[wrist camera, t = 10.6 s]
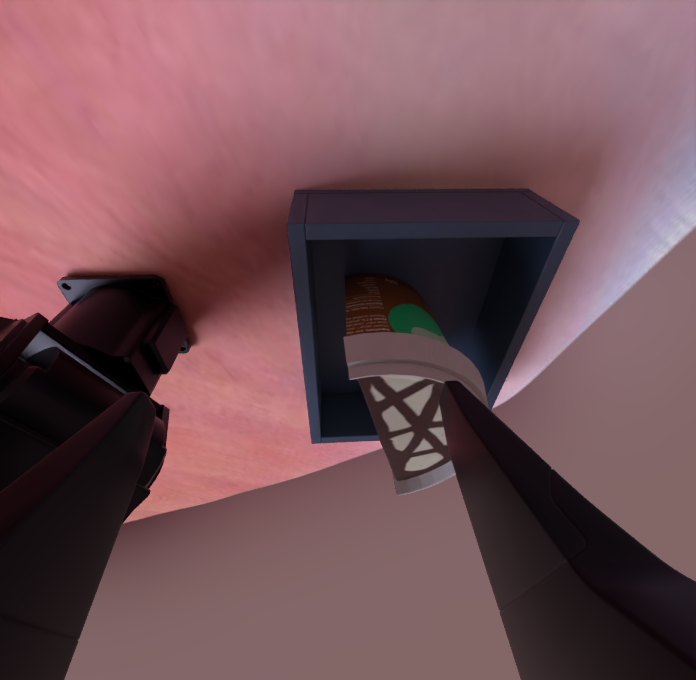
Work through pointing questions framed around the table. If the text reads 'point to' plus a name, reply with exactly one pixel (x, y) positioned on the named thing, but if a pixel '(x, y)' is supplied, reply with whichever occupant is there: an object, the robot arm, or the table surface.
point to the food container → (403, 375)
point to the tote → (419, 279)
